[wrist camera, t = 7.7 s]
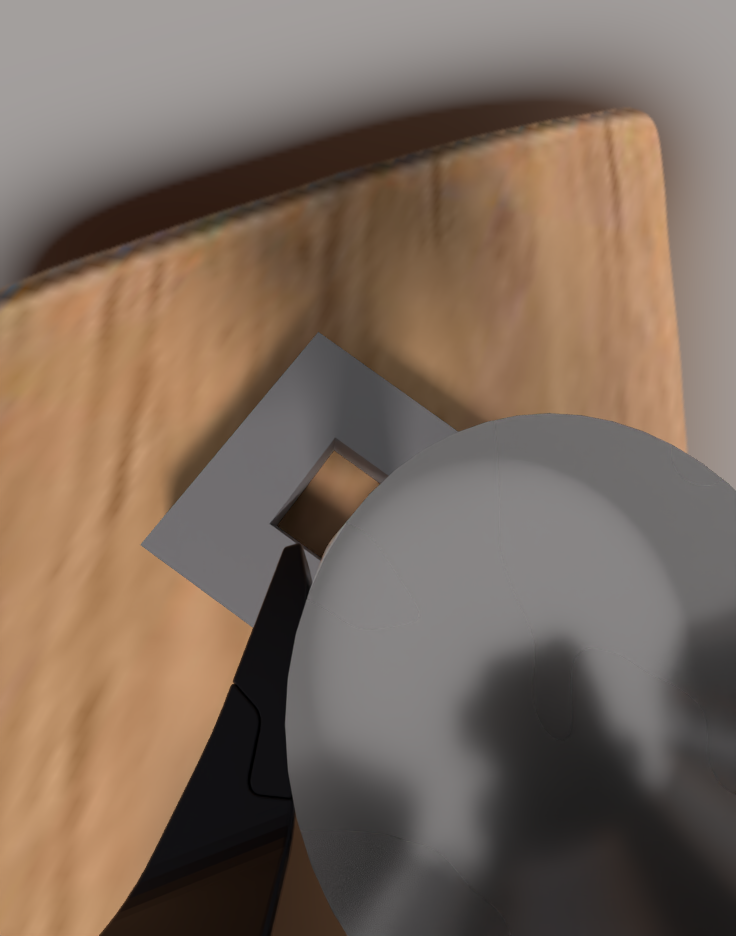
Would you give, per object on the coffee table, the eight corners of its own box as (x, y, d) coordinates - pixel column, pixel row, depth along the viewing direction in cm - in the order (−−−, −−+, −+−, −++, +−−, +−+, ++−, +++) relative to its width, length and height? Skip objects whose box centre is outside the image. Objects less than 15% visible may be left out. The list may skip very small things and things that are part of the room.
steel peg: (433, 557, 17) (918, 614, 3) (380, 639, 16) (725, 1249, 2) (357, 502, 17) (491, 316, 3) (301, 581, 16) (142, 805, 2)
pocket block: (502, 488, 24) (527, 481, 21) (373, 695, 21) (380, 721, 18) (319, 357, 24) (318, 332, 21) (165, 544, 21) (140, 544, 18)
